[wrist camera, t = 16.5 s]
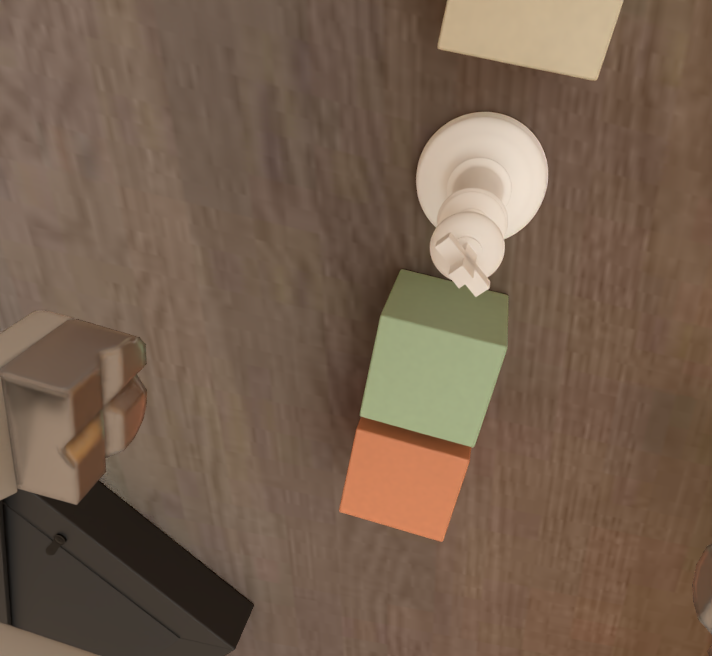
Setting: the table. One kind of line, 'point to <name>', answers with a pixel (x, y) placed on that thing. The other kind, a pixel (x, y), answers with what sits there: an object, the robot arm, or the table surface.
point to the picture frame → (110, 581)
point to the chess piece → (479, 192)
